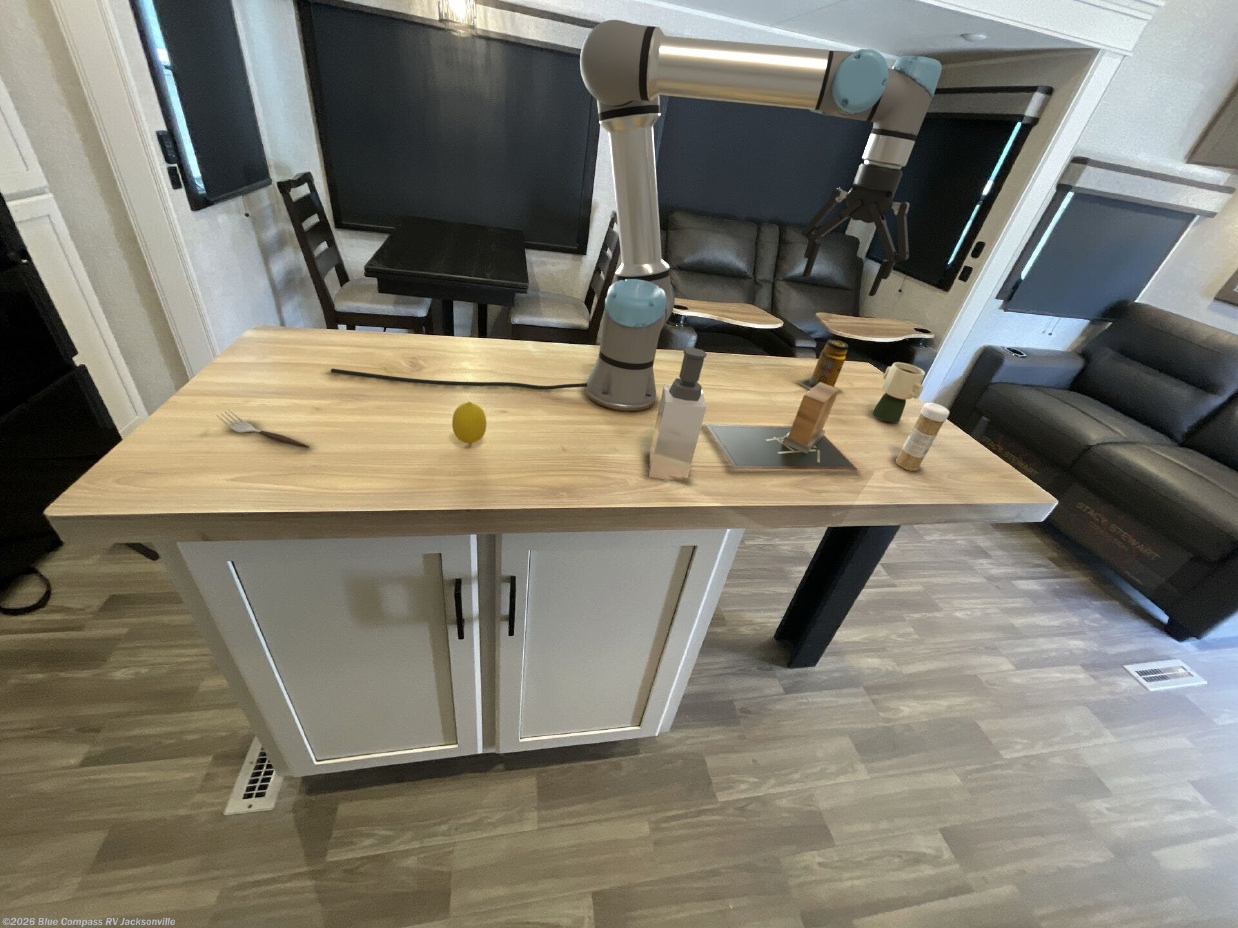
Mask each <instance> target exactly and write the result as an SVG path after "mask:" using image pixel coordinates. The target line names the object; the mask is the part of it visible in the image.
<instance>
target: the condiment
mask: <svg viewBox="0 0 1238 928" xmlns="http://www.w3.org/2000/svg"><path fill="white" fill-rule="evenodd" d="M848 349H849V345H848V344H847V343H846V342H843V341H841V340H838V339H828V340H827V341H826V343H825V345H824V347H823V349H822V350H821V352H820V355H819V357H818V359H817V362H816V365H815V367H814V370H813V373H812V375H811V378H810V379H808V380H800V381H797V383H798V384H800V385H801V386H803V387H805V388H806V389H807V390H808V391H810V390H811V389H812V388H813V387H815V386H816V385H817V384H818V383H820V382H821V383H824V384H827V385H829V386H832V387H836V386H835V385H836V383H837V380H838V378H839V376H840V374H841V371H842V368H843V367H844V364H845V361H846V360H847V359H846V358H847V357H846V355H847V352H848ZM840 391H841V390H840V389H839V391H838V392H840Z"/></svg>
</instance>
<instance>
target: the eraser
mask: <svg viewBox="0 0 1238 928" xmlns="http://www.w3.org/2000/svg"><path fill="white" fill-rule="evenodd" d="M839 390H840V389H839V388H837V387H836V386H834V387H832V386H829V385H827V384H824V383H821V382H820V383H818V384H817V385H816V386H815V387H813V388H812V389H811V390H808V391H807V392H806V393H804V395H803V396H802V399H801V402H800V404H799V406H798V410H797V412H796V415H795V418H794V420H793V423H792V425H791V427H792V428H791V431H790V432H789V433H788V434H787V435H786V436H785V437H784V440H783V444H785V445H788V446H790V447H792V448H794V449H797V450H799V451H801V452H803V453H806V454H807V453H808V452H809V451H810V450H811V449H812V448H813V447H814V446H815V445H816V444H817V443H818V442H819V441H820V440H821V438H822V437H823V435H824V436H825V433H826V430H824V427H825V425H826V422H827V420H828V417H829V415H830V413H831V410H832V408H833V406H834V403H835V400H836V399H837V396H838V393H839V392H840V391H839Z"/></svg>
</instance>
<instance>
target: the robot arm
mask: <svg viewBox="0 0 1238 928" xmlns="http://www.w3.org/2000/svg"><path fill="white" fill-rule="evenodd" d="M579 67H580V74H581V78H582V81H583V83H584V87H586V90H587V91H588V92H589V93H590V95H591V96H592V97H593V98H594V99H595V100H596V104H597V105H596V106H597V112H598V121H599V125H600V126H601V127H602V128H603V129H604V130H606V132H607V133H608V134H607V135H608V141H609V151H610V161H611V171H612V172H611V173H612V181H613V189H614V200H615V208H616V210H615V211H616V219H617V229H618V239H619V240H618V241H619V246H620V247H619V249H620V258H621V263H620V266H619V267H618V268H617V269H616V271H615V279H616V281H615V282H614V283H612V284H611V285H610V286H609V288H608V290H607V294H606V297H605V299H604V313H603V320H602V327H601V335H600V343H599V351H598V357H597V360H596V362H595V364H594V366H593V368H592V370H591V372H590V374H589V376H588V378H587V381H586V382H579V383H565V384H555V385H539V384H538V385H537V384H530V383H521V382H512V381H511V382H509V381H455V380H436V379H424V378H423V379H422V378H411V377H403V376H394V375H386V374H378V373H370V372H361V371H354V370H347V369H341V368H340V369H338V368H331V369H330V373H333V374H340V375H341V374H342V375H349V376H356V377H363V378H372V379H378V380H388V381H393V382H394V381H396V382H404V383H413V384H414V383H415V384H424V385H425V384H426V385H440V386H442V385H443V386H465V387H466V386H469V387H515V388H516V387H517V388H525V389H533V390H544V391H545V390H547V391H548V390H560V389H571V388H573V389H574V388H585V394H586V396H587V398H588V399H590V400H591V401H592V402H593V403H595V404H597V405H599V406H600V407H604V408H607V409H609V410H613V411H617V412H618V411H619V412H640V411H644V410H647V409H650V408H651V407H652V406H653V405H654V404H655V403H656V402H655V401H656V397H657V388H656V379H655V374H654V373H655V372H654V364H655V358H656V353H657V349H658V344H659V338H660V334H661V331H662V329H663V327H664V326H665V325H666V323H667V321H668V320H669V319H670V317H671V315H672V313H673V312H674V307H675V300H676V299H675V298H676V297H675V291H674V287H673V285H672V284H671V273H670V265H669V264H668V263H667V262H666V261H664V260H663V258H662V257H663V256H662V244H661V243H662V241H661V227H660V213H659V199H658V198H659V197H658V183H657V168H656V167H657V166H656V155H655V153H656V152H655V139H654V138H655V137H654V126H655V124H656V123H657V121H658V120H659V119H660V117H661V108H660V107H661V105H660V96H668V97H677V98H678V97H679V98H687V99H688V98H689V99H699V100H709V101H718V102H719V101H721V102H728V103H729V102H730V103H739V104H750V105H759V106H761V105H762V106H770V107H781V108H792V109H801V110H809V112H811V113H817V114H821V115H822V116H825V117H827V116H831V117H838V118H842V119H850V120H855V121H856V120H857V121H863V122H864V121H865V122H866V123H867V122H868V123H873V126H872V129H871V132H870V135H869V138H868V140H867V143H866V146H865V149H864V152H863V154H862V157H861V159H862V160H863V163H861V164H860V165H858V169H857V171H856V175H855V177H854V179H853V183H852V186H851V188H850V190H849V191H845V190H843V189H842V188H841V187H839V188H838V187H835V188H833V189H832V191H831V193H830V195H829V197H828V200H827V201H826V202H825V203H824V204H823V205H822V207H821V208H820V210H819V211H818V212H817V213H816V214H815V215H814V216H813V217H812V219H811V220H810V221H809V222H808V224H806V225H805V227H804V228H803V229H802V230H801V236H802V237H805V238H806V239H807V245H806V249H805V251H804V255H803V257H804V259H807V260H806V263H805V266H804V269H803V272H802V276H801V277H804V278H807V277H811V274H812V272H813V267H814V265H815V263H816V259H817V256H818V254H819V250H820V247H821V244H822V242H820V241H819V240H820V239H821V238H823V237H824V236H825V235H827V234H828V233H830V232H831V231H832V230H834V229H835V228H836V227H838V226H839V225H840V224H842V223H843V222H844V221H846V220H847V219H850V218H851V220H852V221H861V222H863V223H865V224H873V223H874V226H875V228H876V230H877V233H878V236H879V238H880V242H881V244H882V247H883V250H884V254H885V256H886V258H885V259H883V260H882V261H881V262H880V266H879V268H878V271H877V273H876V276H875V277H874V280H873V283H872V285H871V288H870V290H869V293H868V296H869V297H874V296H876V295H877V293H878V290H879V287H880V285H881V282H882V281H883V280H888V278H890V276H891V274H892V271H893V269H894V266H895V264H896V263H897V262H903V261H906V260H908V259H909V257H910V252H909V251H910V250H909V235H908V234H909V233H908V218H907V217H908V213H909V209H910V203H909V202H908V201H903V202H897V201H894V198H895V195H896V191H897V190H898V187H899V184H900V181H901V178H902V177H903V174H904V173H903V171H902V168H903V167H906V166H907V163H908V161H909V158H910V156H911V153H912V151H913V148H914V145H915V143H916V139H917V137H918V135H919V132H920V129H921V127H922V124H923V122H924V119H925V117H926V114H927V113H928V110H929V107H930V105H931V102H932V100H933V98H934V96H935V93H936V92H935V91H936V89H937V86H938V82H939V80H940V77H941V73H942V71H943V70H942V69H943V66H942V63H941V62H940V61H939V60H937V59H935V58H932V57H927V56H921V55H902V56H899V57H898V58H897V59H896V60H895V63H894V65H893V66H892V67H891V68H889V65H888V62H887V60H886V58H885V56H883V55H882V53H880V51H877V50H874V49H871V48H869V49H868V48H867V49H866V48H861V49H858V50H855V51H848V50H847V51H846V50H832V49H831V50H830V49H823V48H814V47H813V48H812V47H800V46H789V45H788V46H787V45H777V44H766V43H765V44H764V43H753V42H743V41H741V42H740V41H732V40H731V41H729V40H728V41H727V40H719V39H706V38H695V37H694V38H692V37H684V36H683V37H681V36H671V35H670V36H669V35H665V33H664V32H663V30H662V29H661V27H660V26H653V25H644V24H638V23H633V22H629V21H624V20H621V19H608V20H605V21H602V22H600V23H599V24H597V25H595V27H593V28H592V29H591V30H590V31H589V32H588V34H587V36H586V38H585V40H584V42H583V44H582V46H581V51H580V57H579ZM844 199H845V202H846V206H847V207H846V208H845V209H844V210H843V211H841V212H840V213H839V214H838V215H836V216H835V217H834V218H832V219H831V220H829V221H828V222H827V223H826V224H824V225H822V226H821V227H820V228H818V229H817V227H818V226H819V225H820V224H821V223H822V222H823V221H824V219H825V218H826V217H827V216H828V215H829V214H830V212H831V211H832V210H833V209H834V208H835V207H836V205H837V204H838V203H841V202H842V201H843V200H844ZM891 210H893V214H894V215H895V216H896V233H897V248H898V253H897V250H896V247H895V245H894V242H893V238H892V236H891V233H890V231H889V228H888V225H887V219H886V216H885V215H886V214H887V213H888V212H889V211H891ZM816 229H817V230H816ZM815 230H816V231H815Z"/></svg>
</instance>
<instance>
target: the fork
mask: <svg viewBox="0 0 1238 928" xmlns="http://www.w3.org/2000/svg"><path fill="white" fill-rule="evenodd" d="M228 412H230V413H231V414H232V415H231V414H229V413H228ZM228 412H227V411H224V413H225V414H226V415H227V416H228V417H229V418H230V419H231V420H230V419H229V418H228V417H227V416H225V414H223V413H220V415H222V417H224V419H225V420H227V421H228V422H229V423H230V424H229V423H228V422H227V421H225V420H224V419H223V418H221V416H219V415H216V417H217V418H218V419H219V420H220V421H222V422H223V423H224V424H225V425H226V426H227V427H228V428H229V429H231V430H232V431H234V432H236V433H241V434H242V433H243V434H244V433H250V432H255V433H258V434H260V435H263V436H265V437H267V438H268V439H271V440H273V441H277V442H281V443H285V444H289V445H294V446H297V447H302V448H306V449H307V448H308V449H309V448H310V445H307V444H305V443H303V442H301V441H297V440H295V439H292V438H291V437H287V436H286V435H282V434H279V433H274V432H270V431H265V430H260V429H257V428H255V427H254V426H253V425H252V424H250V423H248V422H247V421H245V420H244V419H242V418H241V417H239V416H238V415H237V414H236V413H234V412H233V411H232V410H231V409H228ZM233 416H234V417H235V418H234V417H233ZM233 421H234V422H233Z"/></svg>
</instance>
